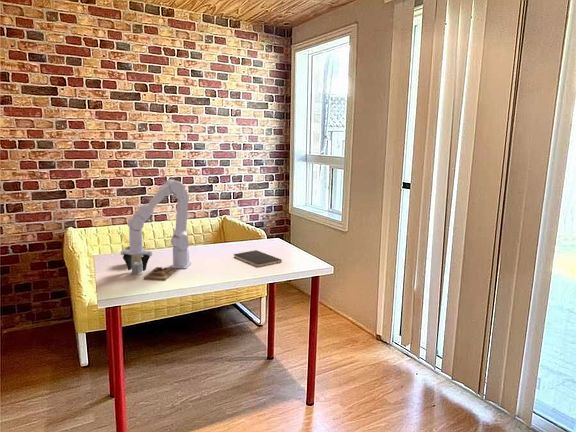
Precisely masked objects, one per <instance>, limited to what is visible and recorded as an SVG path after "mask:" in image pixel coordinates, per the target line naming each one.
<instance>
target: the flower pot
mask: <svg viewBox="0 0 576 432" xmlns="http://www.w3.org/2000/svg"><path fill="white" fill-rule="evenodd" d="M144 249H145V246H143V250H144ZM124 250H130V245H129V246H126V247H124ZM141 257H143V256H140V255H132V259H131V265H133V264H134V262H141V263H142V259H141Z"/></svg>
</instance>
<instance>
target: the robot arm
mask: <svg viewBox="0 0 576 432" xmlns="http://www.w3.org/2000/svg"><path fill="white" fill-rule="evenodd" d="M171 195H173V196H174V197H175V198H176V199H177V200H176V201H177V203H176V217H175V229H174V231H173V234H172V237H171V241H170V242H171V245H172V246H173V247H172V265H171V266H170V267H169V268H171V269H185V270H186V269H187V268H188V267H189V266H190V265H191V264H192V262H190V251H189V249H188V248H189V247H190V241H189V237H188V236H189V235H188V233H187V226H188V224H187V223H188V222H187V221H188V213H189V211H188V209H189V208H188V207H189V198H190V197H189V194H188V192H187V190H186V187H185V185H184V184H183V182H181V181H179V180H176V179H173V178H172V179H168V180H166V181H165V182H164V183H163V184H162V185H161V186H160V187H159V189H158V191H157V192H156V193H155V194H154V195H153V197H152V198H151V199H150V201H149V202H148V203H145V204H144V203H143V205H140V206H139V209H138V210H137V211H136V212H135V213H133V215H132V216H131V217H129V219H128V220H127V223H126V224H127V226H128V228H129V229H128V230H129V232H128V236H129V241H128V242H129V246H130V250H125V249H124V250H123V249H122V250H121V251H120V256H122V259H123V261H124V262H125V264H126V267H127V270H128V271H132V265H131V259H132V255H140V256H142V257H141V259H142V272H144V271H146V270H147V265H148V262H149V259H150V258H151V256H153V251H149V250H146V249H145V250H144V249H143V228H144V224H145V223H146V222H147V220H148V219H149V218H150V217H151V216H152V215H153V214H154V208H155V207H156V206H157V205H158V204H159V203H160V202H161V201H162V200H163V199H164V198H165V197H168V196H171Z"/></svg>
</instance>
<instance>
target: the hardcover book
mask: <svg viewBox="0 0 576 432" xmlns="http://www.w3.org/2000/svg"><path fill="white" fill-rule="evenodd" d="M233 256H234V258H235V257H236V258H235V259H237V258H238V260H239V261H242V260H243V261H242V262H245V263H247V262H248V264H249V263H250V265H252V266H254V265H255V266H254V267H257V268H259V266H260V267H264V266H263V265H265V266H269V265H268V264H270V265H273V264H272V263H275V264H278V263H277V262H280V263H282V261H283V260H282V259H281V258H278V257H275V256H273V255H270V254H267V253H265V252H262V251H259V250H257V249H256V250H250V251H244V252H239V253H233Z"/></svg>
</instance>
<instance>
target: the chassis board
mask: <svg viewBox="0 0 576 432" xmlns="http://www.w3.org/2000/svg"><path fill="white" fill-rule="evenodd" d="M175 272H176V268H170V267H164V268H163V267H162V266H161V267H160V266H156V267H155V268H153V269H152V270H151V271H150V272H149V273H147V274H146V275H145V276H144V277H143V279H144V280H147V281H148V280H149V281H167V279H169V278H170V277H171V276H172V275H173V274H174V273H175Z"/></svg>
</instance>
